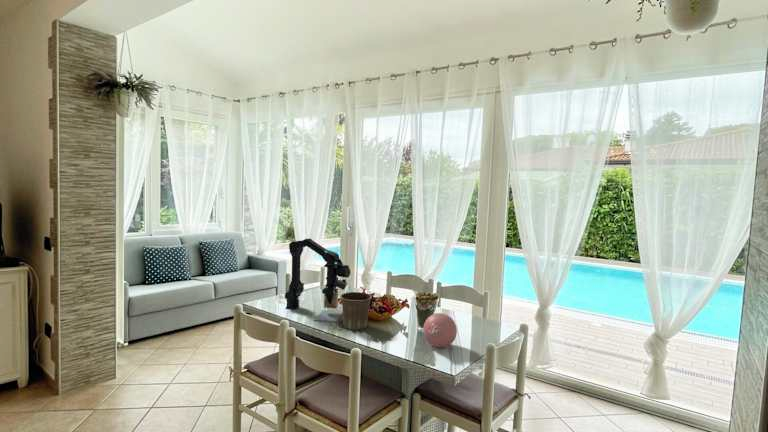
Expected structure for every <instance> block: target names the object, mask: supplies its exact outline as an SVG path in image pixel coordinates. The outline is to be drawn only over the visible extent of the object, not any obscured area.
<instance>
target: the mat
mask: <svg viewBox="0 0 768 432" xmlns="http://www.w3.org/2000/svg"><path fill="white" fill-rule="evenodd" d="M341 316H343V311H335V310H324V309H323V310H321V311H320V313H319V314H318V315H317V316H316V317H315V318H314V319H313V321H314V322H323V323H324V322H326V323H337V322H338V320H339V319H340V318H341Z"/></svg>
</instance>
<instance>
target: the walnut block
mask: <svg viewBox="0 0 768 432" xmlns="http://www.w3.org/2000/svg"><path fill="white" fill-rule="evenodd" d="M323 299H324V300H323V308H325V309H337V308H338V306H339V290H337V291H335V293H334V294H333V297H332V302H331V304H329V302H328V300H327V298H326V295H325V294H324V296H323Z"/></svg>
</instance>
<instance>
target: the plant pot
mask: <svg viewBox="0 0 768 432" xmlns="http://www.w3.org/2000/svg"><path fill="white" fill-rule="evenodd" d="M340 298H341V305H342V312H343V313H342V318H343V319H342V322H343V324H342V325H343V327H344V328H345V329H346V330H352V331H358V330H365V329H366V328H367V327H368V317H369V311H370V306H371V302H372V301H371V300H372V298H373V297H372V295H371V294H369V293H366V292H359V291H358V292H357V291H353V292H352V291H349V292H345V293H342V294H340Z"/></svg>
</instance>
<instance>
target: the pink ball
mask: <svg viewBox="0 0 768 432" xmlns="http://www.w3.org/2000/svg"><path fill="white" fill-rule="evenodd" d="M422 327H423V328H422V331H423V332H422V333H423V336H424V338H425V340H426V342H427V343H428V344H429V345H431V346H432V347H436V348H438V349H439V348H447V347H449V346H450V345H452V344H453V342H454V341H455V340H456V337H457V334H458V333H457V332H458V329H457V324H456V323H455V320H454V319H453V318H452V317H451V316H450V315H448V314H446V313H442V312H438V313H434V314H431V315H429V316H428V317H427V319H426V320H425V322H424V324H423V326H422Z"/></svg>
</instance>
